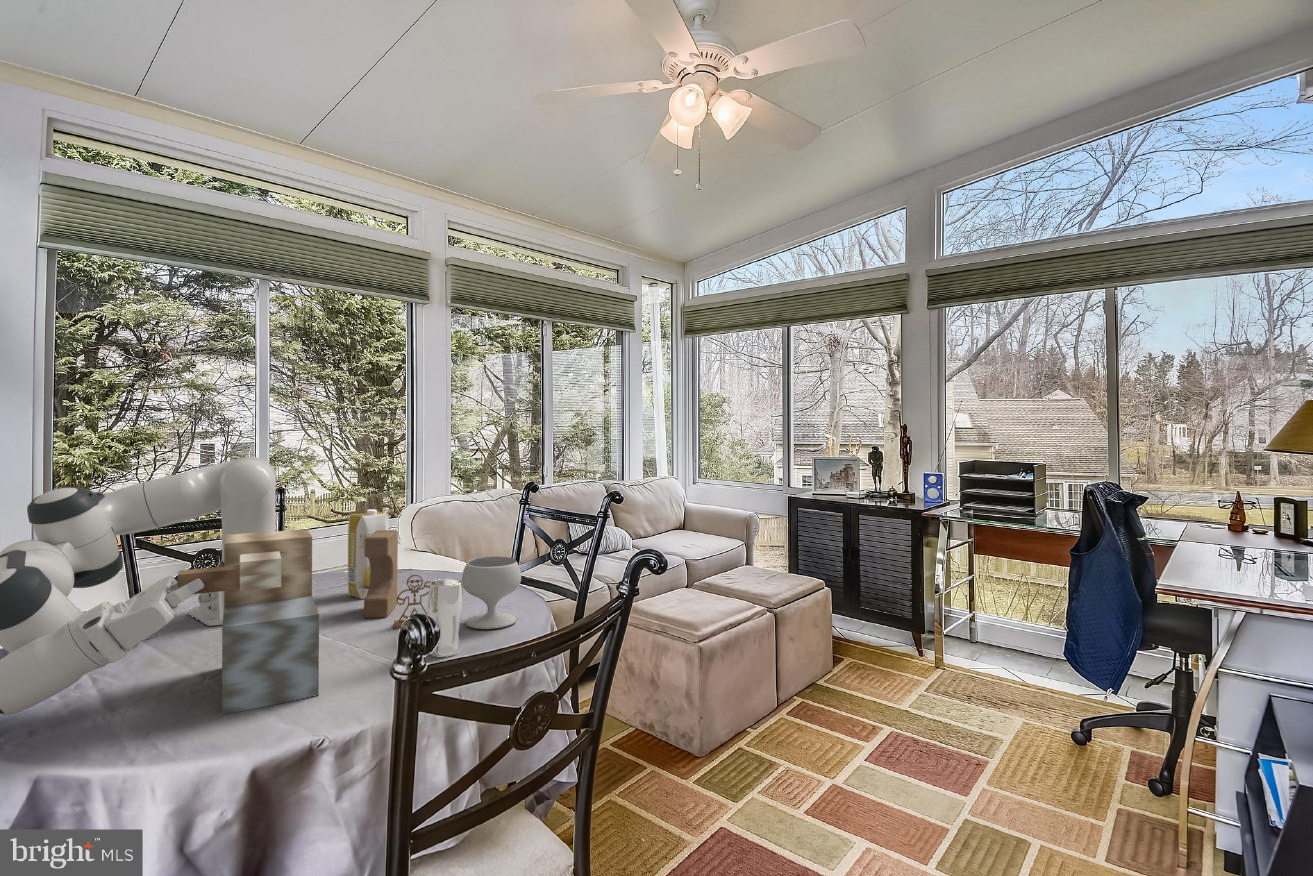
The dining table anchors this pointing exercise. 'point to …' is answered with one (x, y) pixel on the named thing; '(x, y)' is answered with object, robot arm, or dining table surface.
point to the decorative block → (381, 573)
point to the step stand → (270, 627)
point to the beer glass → (446, 613)
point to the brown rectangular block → (238, 574)
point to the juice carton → (361, 549)
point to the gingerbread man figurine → (399, 622)
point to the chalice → (491, 588)
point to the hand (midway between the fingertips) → (203, 578)
